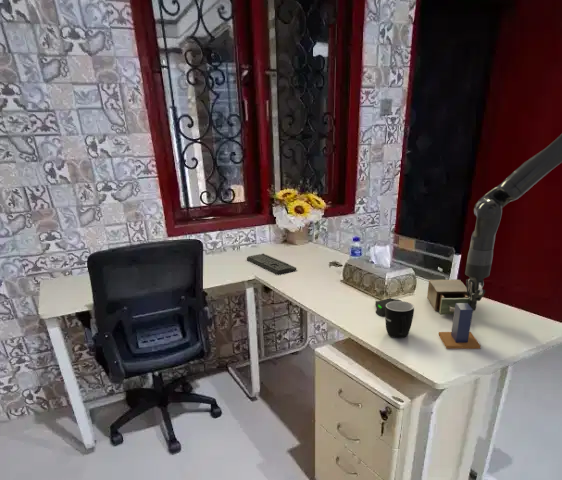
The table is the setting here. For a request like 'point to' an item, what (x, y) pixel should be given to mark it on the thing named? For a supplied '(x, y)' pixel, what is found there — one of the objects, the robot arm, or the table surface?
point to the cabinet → (443, 290)
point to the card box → (461, 322)
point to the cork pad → (451, 343)
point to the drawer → (450, 302)
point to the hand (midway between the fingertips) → (471, 309)
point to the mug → (398, 318)
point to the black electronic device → (383, 306)
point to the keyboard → (271, 264)
